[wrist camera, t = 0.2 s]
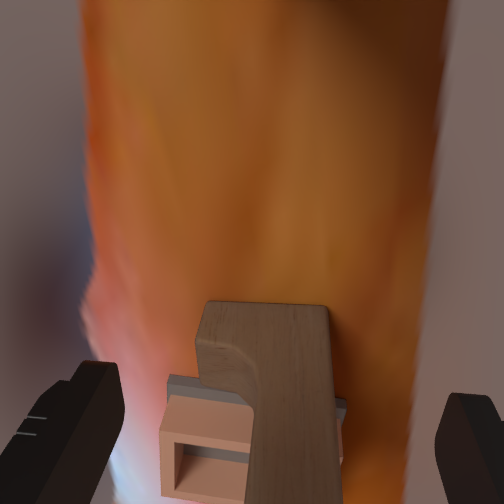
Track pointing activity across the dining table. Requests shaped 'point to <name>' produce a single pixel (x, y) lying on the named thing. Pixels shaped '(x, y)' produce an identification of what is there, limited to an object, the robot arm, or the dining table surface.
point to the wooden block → (278, 395)
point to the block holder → (209, 442)
